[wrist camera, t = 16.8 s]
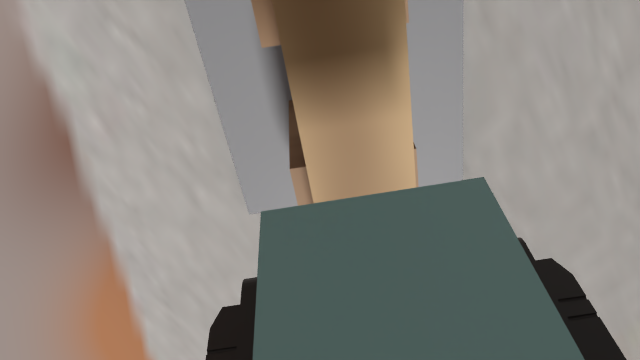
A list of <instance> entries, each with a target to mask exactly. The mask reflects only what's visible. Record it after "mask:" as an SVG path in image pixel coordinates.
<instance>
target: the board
mask: <svg viewBox="0 0 640 360" xmlns="http://www.w3.org/2000/svg"><path fill="white" fill-rule="evenodd" d="M185 4H186V7H187V10H188V14H189V17H190V20H191V24H192V27H193V30H194V33H195V37H196V40H197V43H198V47H199V50H200V53H201V57H202V60H203V63H204V67H205V70H206V73H207V77H208V80H209V83H210V86H211V90H212V93H213V96H214V100H215V103H216V106H217V110H218V113H219V116H220V120H221V123H222V126H223V130H224V133H225V136H226V139H227V143H228V146H229V149H230V153H231V156H232V159H233V163H234V166H235V169H236V173H237V176H238V179H239V183H240V186H241V189H242V192H243V196H244V199H245V202H246V206H247V209H248V212H249V214H256V213H261V211H267V210H274V209H280V208H287V207H293V206H298V204H297V199H296V195H295V191H294V186H293V182H292V178H291V173H290V163H289V101H290V100H292V96H291V91H290V86H289V81H288V76H287V71H286V66H285V61H284V57H283V52H282V47H281V45H277V46H271V47H265V48H262V47H261V42H260V38H259V34H258V29H257V25H256V21H255V16H254V12H253V7H252V3H251V0H185ZM408 13H409V23H406V28H407V44H408V61H409V78H410V94H411V111H412V127H413V142H414V144H415V147H416V152H417V169H418V186H419V187H422V186H429V185H435V184H442V183H448V182H455V181H461V180H463V0H408Z"/></svg>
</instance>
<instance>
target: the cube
mask: <svg viewBox="0 0 640 360" xmlns="http://www.w3.org/2000/svg"><path fill="white" fill-rule="evenodd" d="M253 360H585V359H584V358H583V356H582V354H581V352H580V350H579V348H578V347H577V345H576V343H575V341H574V339H573V338H572V336H571V334H570V332H569V330H568V329H567V327H566V325H565V323H564V321H563V320H562V318H561V316H560V314H559V312H558V311H557V309H556V307H555V305H554V303H553V301H552V300H551V298H550V296H549V294H548V292H547V291H546V289H545V287H544V285H543V283H542V282H541V280H540V278H539V276H538V274H537V273H536V271H535V269H534V267H533V265H532V264H531V262H530V260H529V258H528V256H527V255H526V253H525V251H524V249H523V247H522V245H521V244H520V242H519V240H518V238H517V236H516V235H515V233H514V231H513V229H512V227H511V226H510V224H509V222H508V220H507V218H506V217H505V215H504V213H503V211H502V209H501V208H500V206H499V204H498V202H497V200H496V198H495V197H494V195H493V193H492V191H491V189H490V188H489V186H488V184H487V182H486V180H485V179H484V177H481V178H474V179H468V180H461V181H455V182H448V183H442V184H435V185H429V186H422V187H416V188H410V189H403V190H397V191H390V192H384V193H377V194H371V195H364V196H358V197H351V198H345V199H338V200H332V201H325V202H319V203H313V204H306V205H300V206H293V207H287V208H280V209H274V210H267V211H261V222H260V239H259V257H258V274H257V292H256V309H255V327H254V344H253Z"/></svg>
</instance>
